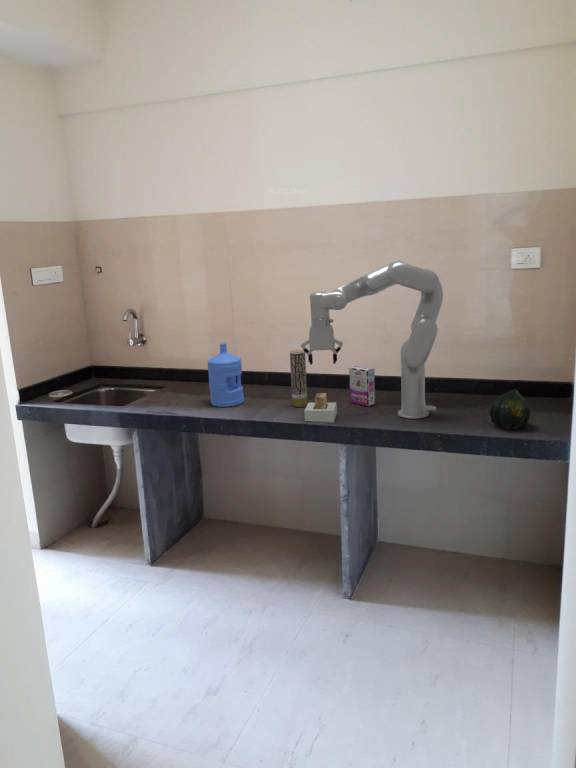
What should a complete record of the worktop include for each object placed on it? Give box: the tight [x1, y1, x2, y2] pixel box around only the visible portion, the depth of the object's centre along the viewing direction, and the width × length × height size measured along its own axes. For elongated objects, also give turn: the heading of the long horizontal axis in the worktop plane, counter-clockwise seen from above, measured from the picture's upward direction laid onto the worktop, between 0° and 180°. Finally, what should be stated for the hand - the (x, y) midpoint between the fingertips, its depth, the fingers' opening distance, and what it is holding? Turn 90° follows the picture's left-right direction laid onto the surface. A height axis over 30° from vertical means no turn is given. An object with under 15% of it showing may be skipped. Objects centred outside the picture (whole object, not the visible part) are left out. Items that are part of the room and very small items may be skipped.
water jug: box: [207, 343, 245, 408], centre depth 294 cm, size 16×16×28 cm
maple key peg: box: [314, 392, 328, 409], centre depth 266 cm, size 4×6×10 cm, turn 170°
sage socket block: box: [303, 402, 338, 423], centre depth 266 cm, size 12×12×5 cm
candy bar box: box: [348, 365, 376, 407], centre depth 283 cm, size 11×5×16 cm, turn 42°
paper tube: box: [289, 349, 308, 408], centre depth 284 cm, size 7×7×25 cm
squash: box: [489, 388, 531, 431], centre depth 243 cm, size 14×15×15 cm
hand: (322, 363), depth 263 cm, fingers open, 9 cm apart
